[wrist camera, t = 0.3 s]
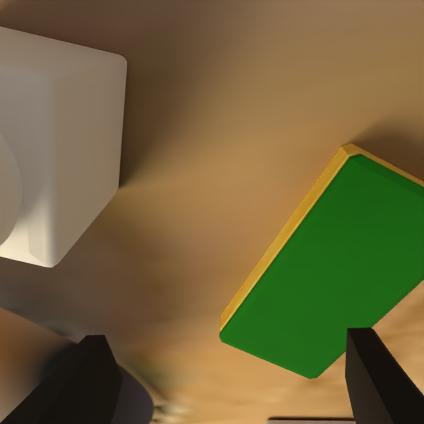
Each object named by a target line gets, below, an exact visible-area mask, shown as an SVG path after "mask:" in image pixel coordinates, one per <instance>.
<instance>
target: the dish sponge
mask: <svg viewBox="0 0 424 424" xmlns="http://www.w3.org/2000/svg"><path fill="white" fill-rule="evenodd" d="M423 280H424V182H423V181H422V180H420V179H418V178H416V177H414V176H412V175H410V174H408V173H407V172H405V171H403V170H401V169H399V168H397V167H395V166H393V165H391V164H390V163H388V162H386V161H384V160H382V159H380V158H378V157H376V156H375V155H373V154H371V153H369V152H367V151H365V150H363V149H361V148H359V147H358V146H356V145H354V144H352V143H351V144H347V145H344V146H341V147H340V149H339V150H338V152H337V153H336V154H335V156H334V157H333V159H332V160H331V161H330V163H329V164H328V166H327V167H326V168H325V170H324V171H323V173H322V174H321V175H320V177H319V178H318V180H317V181H316V182H315V184H314V185H313V187H312V188H311V190H310V191H309V192H308V194H307V195H306V197H305V198H304V199H303V201H302V202H301V204H300V205H299V206H298V208H297V209H296V211H295V212H294V213H293V215H292V216H291V218H290V219H289V220H288V222H287V223H286V225H285V226H284V228H283V229H282V230H281V232H280V233H279V235H278V236H277V237H276V239H275V240H274V242H273V243H272V244H271V246H270V247H269V249H268V250H267V251H266V253H265V254H264V256H263V257H262V258H261V260H260V261H259V263H258V264H257V266H256V267H255V268H254V270H253V271H252V273H251V274H250V275H249V277H248V278H247V280H246V281H245V282H244V284H243V285H242V287H241V288H240V289H239V291H238V292H237V294H236V295H235V296H234V298H233V299H232V301H231V302H230V304H229V305H228V306H227V308H226V309H225V311H224V312H223V313H222V317H221V326H220V330H221V332H220V336H219V337H220V339H221V341H222V342H223V343H226V344H228V345H230V346H233V347H235V348H237V349H240V350H242V351H245V352H247V353H249V354H252V355H254V356H256V357H259V358H261V359H264V360H266V361H268V362H271V363H273V364H275V365H278V366H280V367H283V368H285V369H287V370H290V371H292V372H294V373H297V374H299V375H302V376H304V377H306V378H309V379H312V378H317V377H318V376H320V375H321V374H322V373H323V372H324V371H325V370H326V369H327V368H328V367H329V366H330V365H331V364H333V363H334V362H335V361H336V360H337V359H338V358H339V357H340V356H341V355H342V354H343V353H344V352H346V340H347V328H367V327H371V328H372V327H373V326H374V325H375V324H376V323H377V322H378V321H379V320H380V319H381V318H382V317H384V316H385V315H386V314H387V313H388V312H389V311H390V310H391V309H392V308H393V307H394V306H395V305H397V304H398V303H399V302H400V301H401V300H402V299H403V298H404V297H405V296H406V295H407V294H408V293H410V292H411V291H412V290H413V289H414V288H415V287H416V286H417V285H418V284H419V283H420V282H422V281H423Z"/></svg>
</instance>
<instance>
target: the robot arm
mask: <svg viewBox="0 0 424 424" xmlns="http://www.w3.org/2000/svg"><path fill="white" fill-rule="evenodd" d="M122 379H123V377H122V375H121V372H120V370H119V368H118V365H117V363H116V361H115V358H114V356H113V354H112V351H111V349H110V347H109V344H108V342H107V340H106V337H105V335H87V336H86V337H85V338H84V339H83V340H82V341H80V343H79V344H78V345H77V346H76V347H75V348H74V349H73V350H72V351H71V352H70V353H69V354H68V355H67V356H66V357H65V358H64V359H63V360H62V361H61V362H60V363H59V365H57V367H56V368H55V369H54V370H53V371H52V372H51V373H50V374H49V375H48V376H47V377H46V378H45V379H44V380H43V381H42V382H41V383H40V384H39V385H38V386H37V387H36V388H35V389H34V390H33V391H32V392H31V394H30V395H28V396H27V397H26V398H25V399H24V400H23V401H22V402H21V403H20V404H19V405H18V406H17V407H16V408H15V409H14V410H13V411H12V412H11V413H10V414H9V415H8V416H7V417H6V418H5V419H4V420H3V421H2V422H1V423H0V424H111V421H112V418H113V415H114V412H115V408H116V404H117V401H118V397H119V392H120V388H121V383H122ZM345 379H346V383H347V388H348V393H349V397H350V402H351V406H352V411H353V415H354V419H355V421H300V420H268V421H266V422H265V424H424V395H423V394H422V393H421V391H420V390H419V389H418V388H417V387H416V385H415V384H414V383H413V382H412V380H411V379H410V378H409V377H408V375H407V374H406V373H405V372H404V370H403V369H402V368H401V366H400V365H399V364H398V362H397V361H396V360H395V359H394V357H393V356H392V354H391V353H390V352H389V350H388V349H387V348H386V346H385V345H384V344H383V342H382V341H381V339H380V338H379V336H378V335H377V333H376V332H375V331H374V330H373V329H372V328H371V327H367V328H347V340H346V366H345Z"/></svg>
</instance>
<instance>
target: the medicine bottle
mask: <svg viewBox="0 0 424 424" xmlns="http://www.w3.org/2000/svg"><path fill="white" fill-rule="evenodd" d="M126 75H127V61H126V59H125V58H124V57H123V56H121V55H119V54H115V53H111V52H106V51H102V50H98V49H94V48H89V47H85V46H81V45H77V44H73V43H68V42H64V41H60V40H56V39H51V38H47V37H43V36H39V35H35V34H30V33H26V32H22V31H18V30H13V29H9V28H5V27H1V26H0V256H1V257H5V258H10V259H14V260H18V261H23V262H27V263H31V264H36V265H40V266H44V267H53V266H55V265H56V264H58V263H59V262H60V260H61V259H62V258H63V257H64V256H65V254H66V253H67V252H68V251H69V250H70V248H71V247H72V246H73V245H74V243H75V242H76V241H77V240H78V239H79V237H80V236H81V235H82V234H83V233H84V231H85V230H86V229H87V228H88V227H89V225H90V224H91V223H92V222H93V220H94V219H95V218H96V217H97V216H98V214H99V213H100V212H101V211H102V210H103V208H104V207H105V206H106V205H107V204H108V202H109V201H110V200H111V199H112V198H113V196H114V195H115V194H116V193H117V191H118V186H119V172H120V158H121V144H122V130H123V117H124V103H125V89H126Z"/></svg>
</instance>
